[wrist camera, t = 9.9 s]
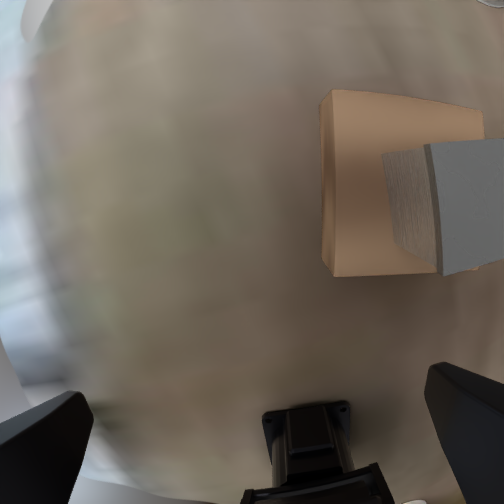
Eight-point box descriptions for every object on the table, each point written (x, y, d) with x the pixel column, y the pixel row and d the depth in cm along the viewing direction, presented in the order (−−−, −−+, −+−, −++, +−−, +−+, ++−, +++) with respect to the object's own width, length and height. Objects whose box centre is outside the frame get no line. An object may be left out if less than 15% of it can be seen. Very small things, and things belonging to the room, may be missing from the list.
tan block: (446, 253, 19) (479, 269, 15) (320, 256, 19) (334, 277, 15) (447, 119, 17) (482, 111, 13) (318, 106, 17) (332, 89, 13)
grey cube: (464, 229, 14) (525, 251, 9) (392, 245, 15) (443, 276, 10) (454, 143, 13) (517, 137, 8) (378, 152, 14) (429, 143, 9)
